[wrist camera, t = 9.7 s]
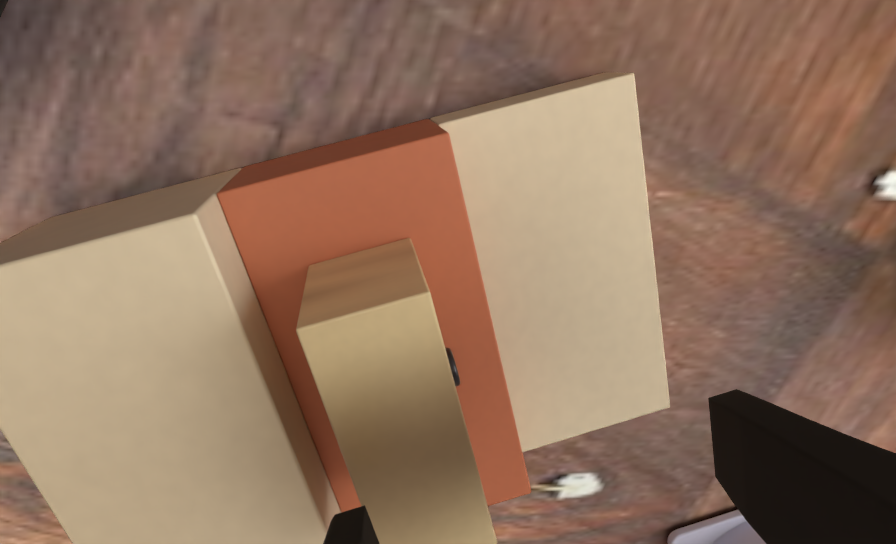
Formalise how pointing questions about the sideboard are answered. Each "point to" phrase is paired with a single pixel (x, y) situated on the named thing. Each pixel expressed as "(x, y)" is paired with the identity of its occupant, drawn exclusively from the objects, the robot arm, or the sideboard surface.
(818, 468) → the robot arm
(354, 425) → the beige block with hole
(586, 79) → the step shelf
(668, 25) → the sideboard surface
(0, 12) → the decorative sphere
